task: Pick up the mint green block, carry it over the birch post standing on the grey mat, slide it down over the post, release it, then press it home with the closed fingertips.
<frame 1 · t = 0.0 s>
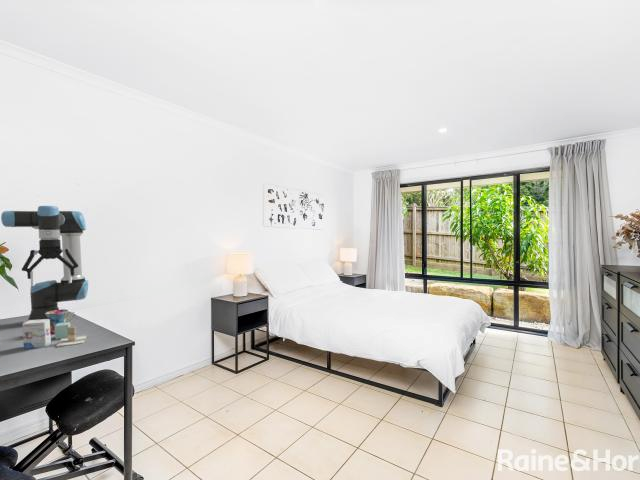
hand: (52, 284, 148), 28 cm above the table, fingers open, 13 cm apart
mint green block: (63, 337, 157), on the table
ink box: (37, 346, 145), on the table
mug: (61, 331, 166), on the table
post: (72, 341, 150), on the table
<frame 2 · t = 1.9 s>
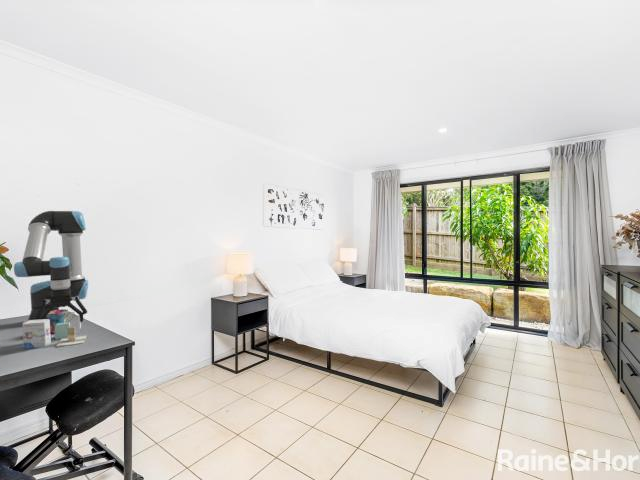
hand: (62, 330, 156), 3 cm above the table, fingers open, 13 cm apart
nothing on the table moved.
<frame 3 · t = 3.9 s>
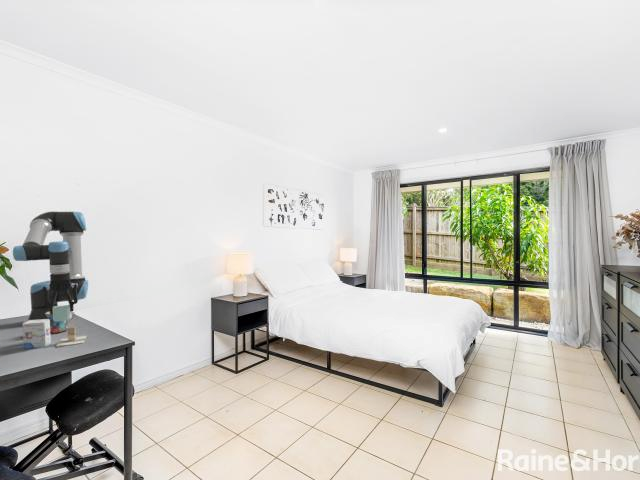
hand: (62, 318, 157), 9 cm above the table, fingers closed on mint green block, 5 cm apart
mint green block: (62, 319, 157), point 9 cm above the table, touching gripper
everything else where it was.
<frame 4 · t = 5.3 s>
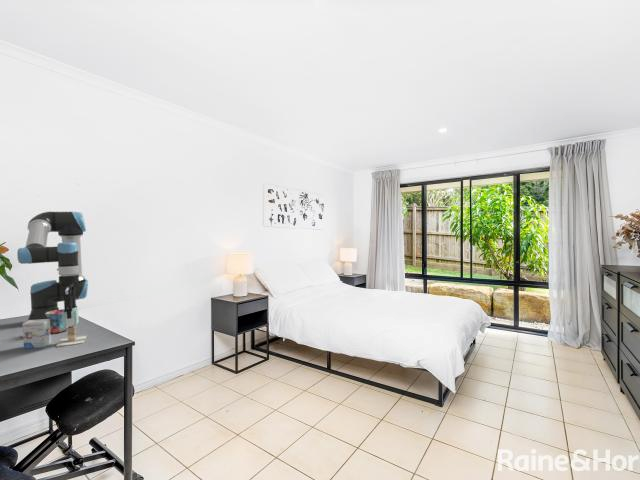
hand: (71, 323, 150), 9 cm above the table, fingers closed on mint green block, 5 cm apart
mint green block: (70, 323, 150), point 9 cm above the table, touching gripper
everything else where it was.
when the fingers open (1 cm above the table, at t = 7.2 s): mint green block stays where it is, resting on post.
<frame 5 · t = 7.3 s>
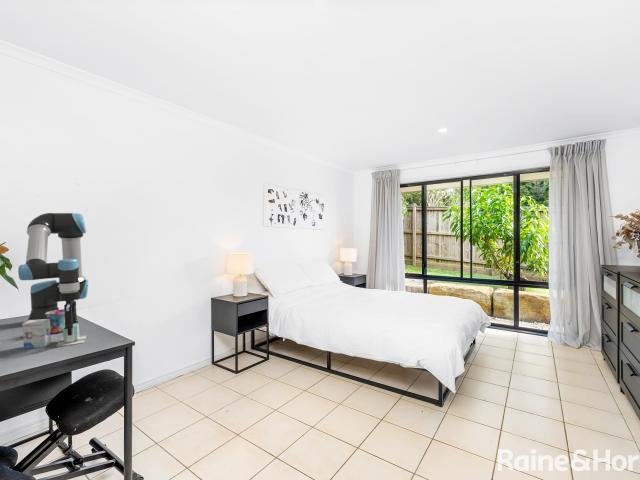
hand: (71, 339, 150), 1 cm above the table, fingers open, 6 cm apart
mint green block: (71, 339, 150), point 1 cm above the table, touching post
everything else where it was.
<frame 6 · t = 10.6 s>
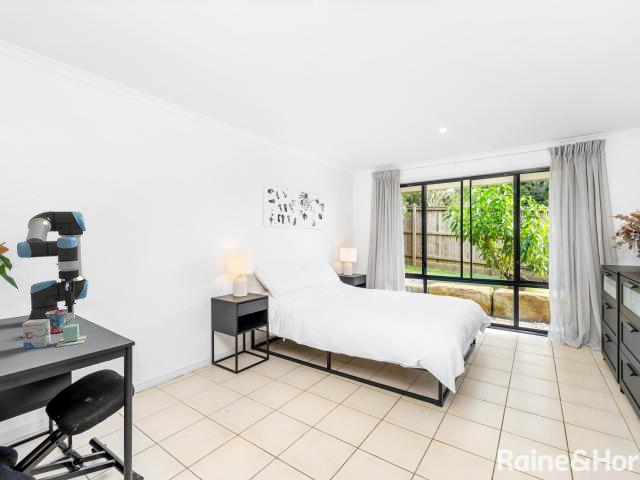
hand: (70, 318, 150), 11 cm above the table, fingers closed
nothing on the table moved.
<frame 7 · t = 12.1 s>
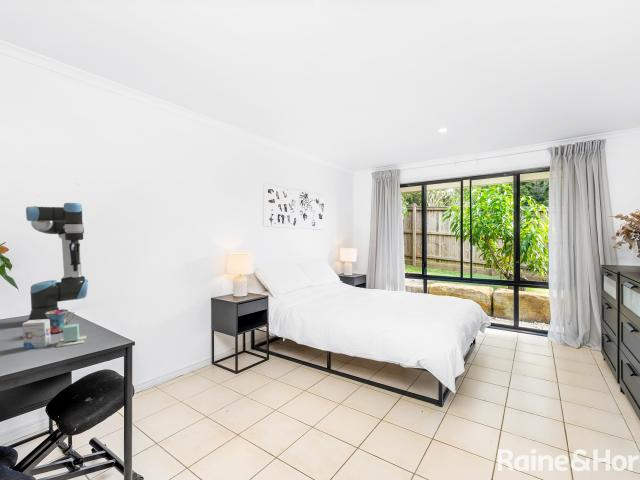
hand: (76, 277, 166), 28 cm above the table, fingers closed
nothing on the table moved.
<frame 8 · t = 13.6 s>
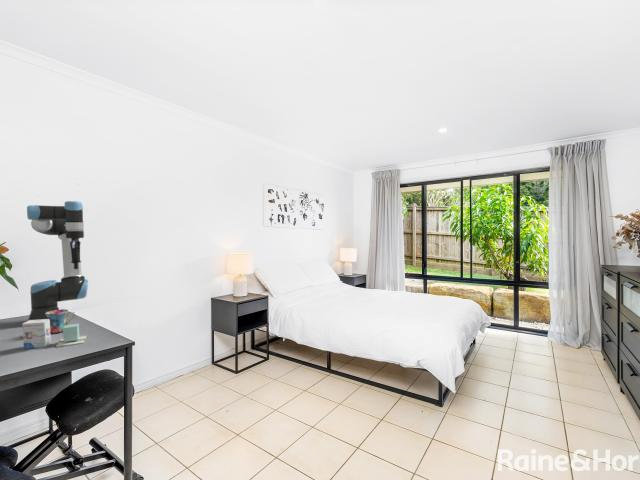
hand: (76, 274, 167), 29 cm above the table, fingers closed
nothing on the table moved.
at the end: mint green block 0.1 cm from the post (horizontally); mint green block point 1.0 cm above the table; the gripper is holding nothing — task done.
